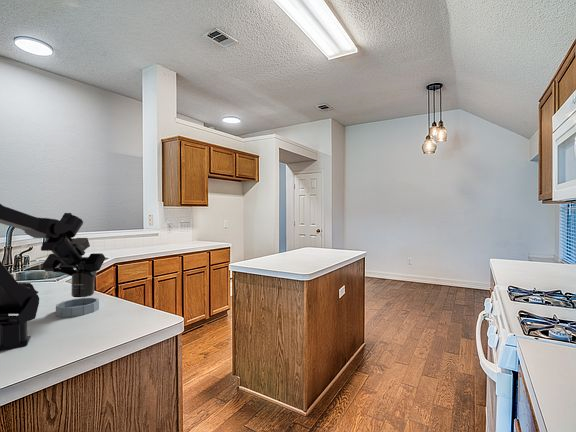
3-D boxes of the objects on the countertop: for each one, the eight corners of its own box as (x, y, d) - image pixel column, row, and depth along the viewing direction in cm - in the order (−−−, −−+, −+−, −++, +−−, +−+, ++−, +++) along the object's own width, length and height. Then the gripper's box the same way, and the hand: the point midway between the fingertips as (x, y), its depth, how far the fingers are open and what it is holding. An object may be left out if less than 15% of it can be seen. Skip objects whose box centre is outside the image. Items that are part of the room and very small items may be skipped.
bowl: (99, 312, 109) (99, 303, 109) (54, 319, 102) (54, 310, 102) (98, 303, 120) (98, 295, 120) (57, 309, 113) (57, 301, 113)
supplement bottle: (73, 299, 106) (73, 263, 106) (70, 295, 111) (70, 261, 111) (96, 295, 111) (96, 261, 111) (92, 291, 116) (92, 259, 116)
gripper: (102, 230, 107) (120, 257, 118) (48, 230, 107) (71, 258, 118) (87, 256, 99) (108, 283, 110) (29, 256, 99) (56, 283, 110)
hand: (86, 275), depth 112 cm, fingers closed on supplement bottle, 7 cm apart
